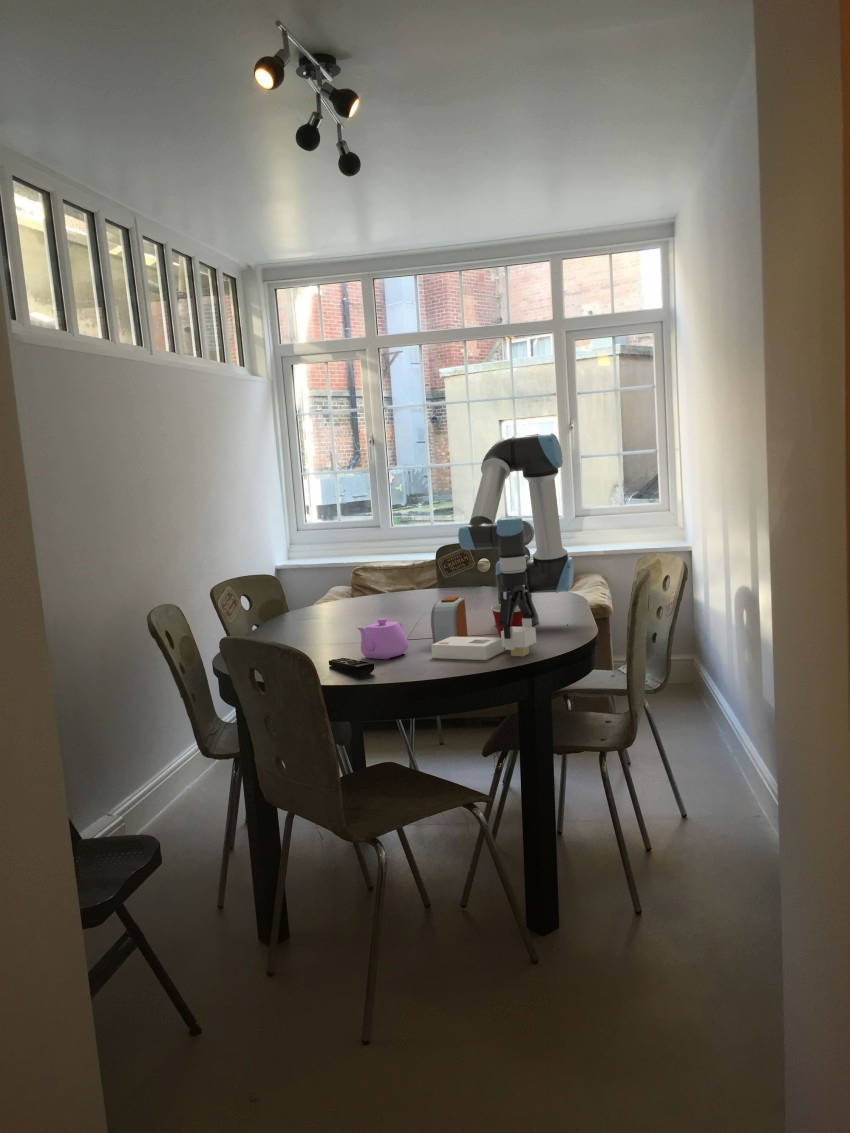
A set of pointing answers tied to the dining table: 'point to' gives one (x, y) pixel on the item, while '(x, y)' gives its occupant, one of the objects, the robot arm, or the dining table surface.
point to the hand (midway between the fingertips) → (519, 644)
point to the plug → (521, 640)
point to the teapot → (383, 640)
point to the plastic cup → (515, 622)
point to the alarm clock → (448, 619)
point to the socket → (467, 648)
